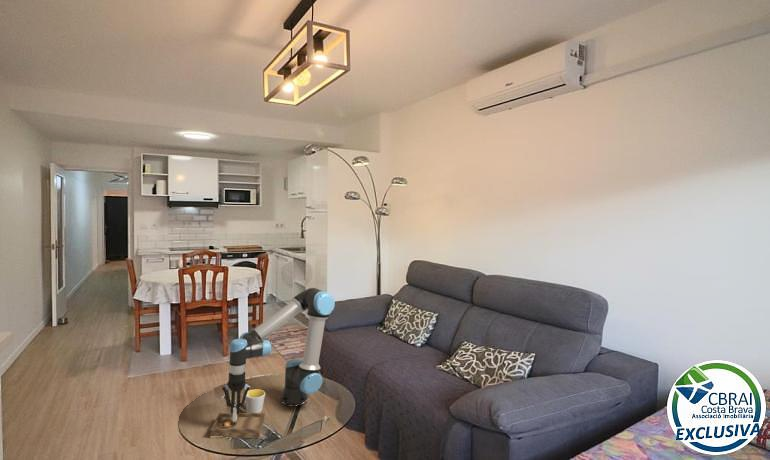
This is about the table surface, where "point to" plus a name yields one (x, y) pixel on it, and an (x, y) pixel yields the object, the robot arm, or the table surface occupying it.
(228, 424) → the ball
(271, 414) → the table surface
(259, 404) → the mug
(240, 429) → the board
